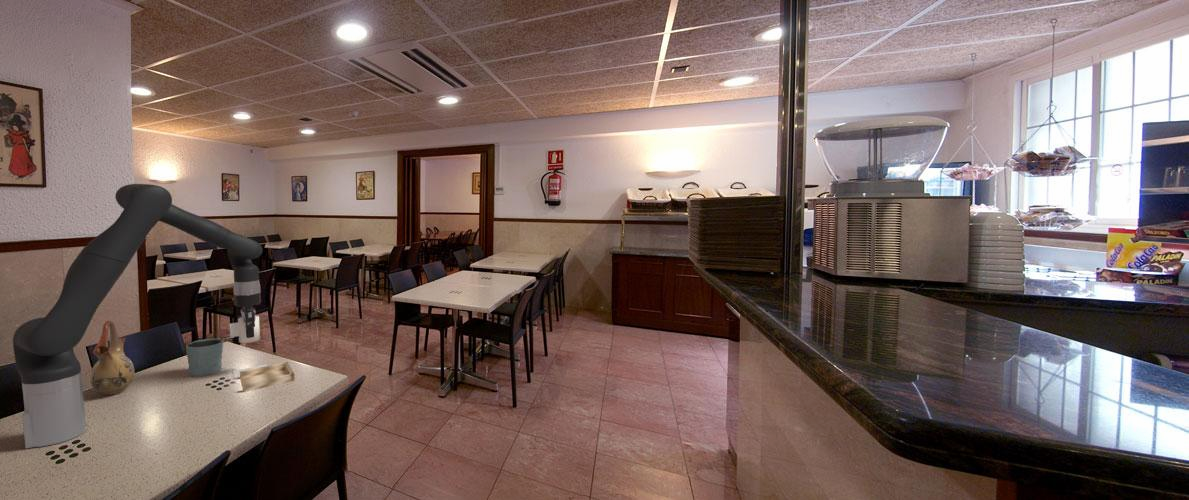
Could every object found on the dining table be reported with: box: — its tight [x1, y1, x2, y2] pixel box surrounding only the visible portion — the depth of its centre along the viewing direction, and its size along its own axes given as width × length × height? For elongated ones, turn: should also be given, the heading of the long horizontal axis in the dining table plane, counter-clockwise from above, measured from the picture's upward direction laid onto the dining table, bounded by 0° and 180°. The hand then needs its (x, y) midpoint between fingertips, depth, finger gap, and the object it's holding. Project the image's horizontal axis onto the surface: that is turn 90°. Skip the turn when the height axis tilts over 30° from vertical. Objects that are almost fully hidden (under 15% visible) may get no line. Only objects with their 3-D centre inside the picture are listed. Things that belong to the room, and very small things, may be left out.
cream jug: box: [229, 314, 261, 344], centre depth 145 cm, size 8×6×9 cm
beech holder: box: [239, 361, 295, 393], centre depth 142 cm, size 14×15×3 cm
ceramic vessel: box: [89, 320, 135, 396], centre depth 128 cm, size 16×9×25 cm, turn 37°
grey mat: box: [232, 363, 268, 381], centre depth 147 cm, size 10×10×1 cm
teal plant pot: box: [185, 338, 224, 378], centre depth 146 cm, size 10×10×12 cm
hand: (249, 335), depth 146 cm, fingers closed on cream jug, 6 cm apart
